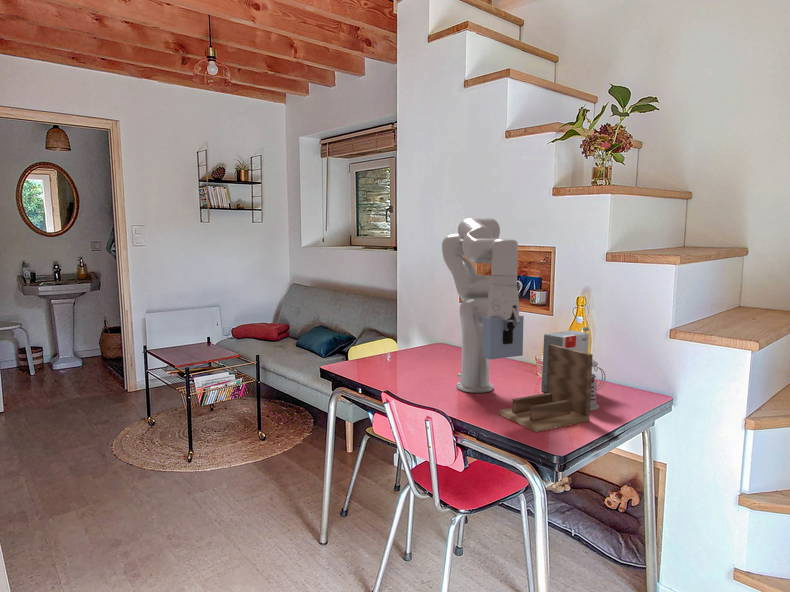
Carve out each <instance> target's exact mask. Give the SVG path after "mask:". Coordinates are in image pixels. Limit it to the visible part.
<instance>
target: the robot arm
mask: <svg viewBox="0 0 790 592" xmlns="http://www.w3.org/2000/svg"><path fill="white" fill-rule="evenodd" d="M500 234H501V229H500V224H499V223H498V221H497V220H496V219H494V218H491V217H490V218H488V217H484V218H483V217H481V218H480V217H469V218H465V219H463V220H462V221H460V223H459V224H458V227H457V233H454V234H453V233H451V234H450V235H447V236H446V237H444V238H443V240H442V243H441V253H442V257H443V260H444V263H445V265H446V267H447V268H448V270H449V271H450V273H451V275H452V277H453V281H454V285H455V287H456V291H457V294H458V296H459V298H460V300H461V301H462V302H461V303H460V305H459V317H460V324H461V325H460V326H461V372H459V373H457V375H456V376H457V377H458V378H460V381H458V382H457V383H456V388H457V389H458V390H460V391H462V392H464V393H465V392H466V393H475V394H476V393H478V394H480V393H482V394H483V393H488V392H491V391H493V389H494V385H493V383H491V382H490V359H487V358H484V357H482V328H483V317H488V316H493V317H497V318H500V320H502V321H504V328H505V331H503V344H512V343H513V330H514V329H515V327H516V325H517V324H519V323H520V319H519V315H520V300H519V299H520V298H519V289H518V262H519V261H518V259H519V255H518V254H519V243H518V241H517V240H515V239H507V238H500ZM473 264H491V269H490V270H491V272H490V273H491V274H490V275H479V274H477V271H476V267H475V266H474V265H473ZM508 319H510V320H508ZM508 322H510V323H509V325H508Z"/></svg>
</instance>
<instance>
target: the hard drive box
mask: <svg viewBox="0 0 790 592" xmlns="http://www.w3.org/2000/svg"><path fill="white" fill-rule="evenodd" d="M589 341H590V333H588V332H586V345H585V331H577V330H565V331H558V332H551V333H545V334H544V335H543V349H542V350H543V352H542V354H543V355H542V371H541V387H540V388H541V389H540V390H541V391H542V392H545V393H547V369H548V345H549V344H553V345H557V346H561V347H565V348H569V349H573V350H577V351H581V352H585V353H589V346H590V345H589V344H590V342H589ZM541 391H540V392H541Z"/></svg>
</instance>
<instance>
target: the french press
mask: <svg viewBox="0 0 790 592" xmlns="http://www.w3.org/2000/svg"><path fill="white" fill-rule="evenodd" d="M588 331H590V328H589V327H587V326H584V327H582V332H584V333H585V345H586V333H587V332H588ZM598 365H599V363H598V362H597V361H596V360H594V359H593V358H592V368H593V370H594V372H598V369H599V371H600V372H601V381H600V382H599V385H598V384H597V380H596V375H595V374H594V373H592V378H591V400H590V411H595V410H598V409H599V408H600V406H599V405H598V404H597V391H599V390H600V389H602V388H603V387H604V385H605V382H606V373H605V371H604V369H603V368H601V367H599V366H598ZM603 376H604V377H603ZM600 386H601V387H600ZM598 387H599V388H598Z"/></svg>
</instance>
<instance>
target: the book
mask: <svg viewBox="0 0 790 592" xmlns="http://www.w3.org/2000/svg"><path fill="white" fill-rule="evenodd" d="M519 319H520V323H519V324H517V325H516V327H515V329H514V330H513V343H512V344H503V331H505V328H504V321H502V320H500V318H497V317H493V316H488V317H483V328H482V357H484V358H487V359H489V360H496V359H504V358H512V357H521V356H523V355H524V352H523V351H524V349H523V348H524V320H525V318H524V315H520V314H519ZM508 320H510V319H508ZM509 323H510V322H508V325H509Z"/></svg>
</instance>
